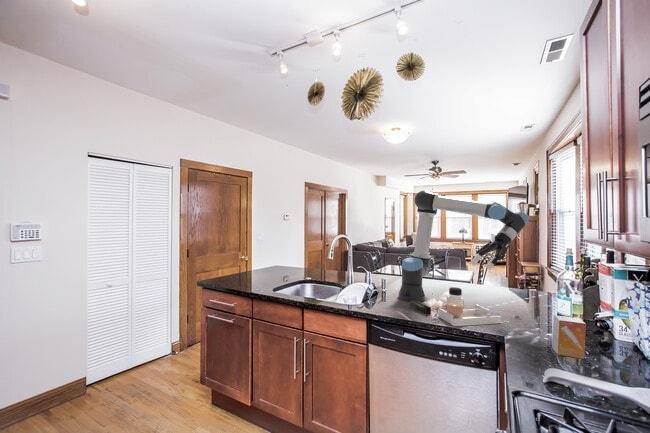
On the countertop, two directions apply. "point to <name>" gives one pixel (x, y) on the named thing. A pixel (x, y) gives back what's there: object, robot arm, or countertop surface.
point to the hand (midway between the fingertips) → (479, 266)
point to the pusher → (481, 311)
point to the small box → (569, 336)
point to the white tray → (468, 318)
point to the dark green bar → (420, 307)
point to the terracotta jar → (455, 310)
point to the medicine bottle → (455, 296)
